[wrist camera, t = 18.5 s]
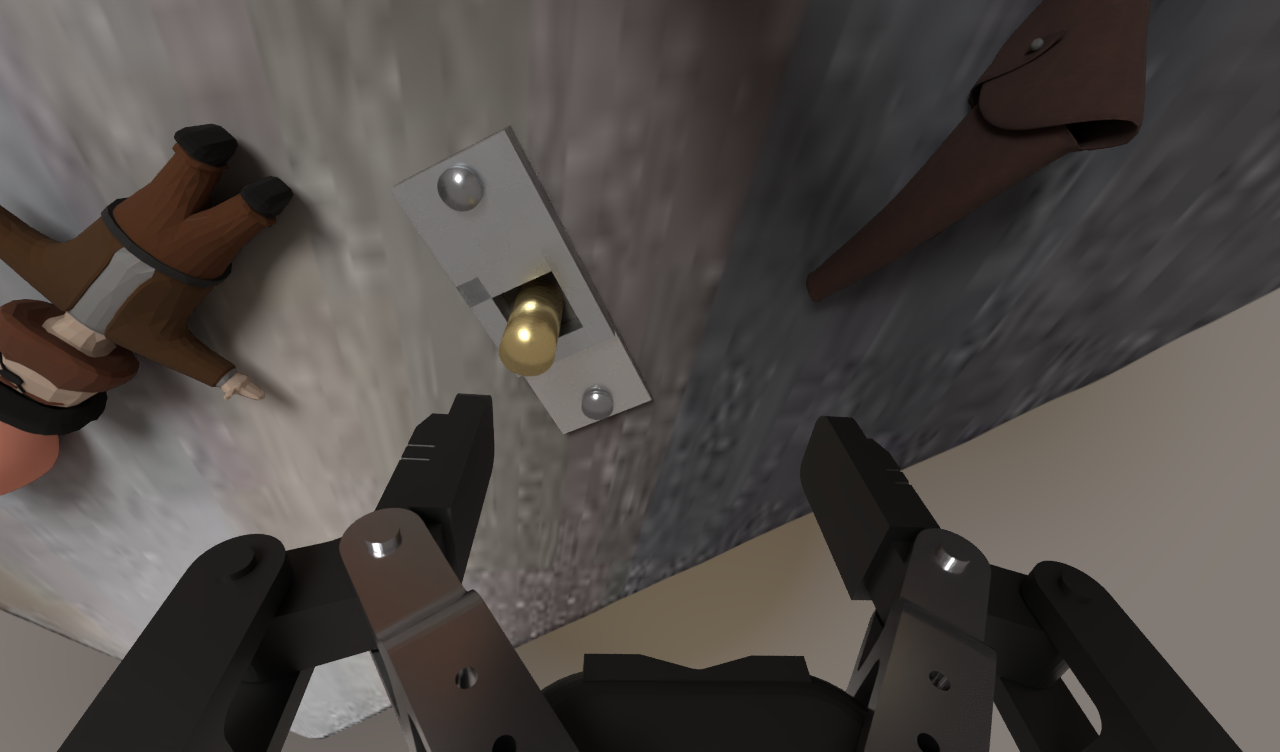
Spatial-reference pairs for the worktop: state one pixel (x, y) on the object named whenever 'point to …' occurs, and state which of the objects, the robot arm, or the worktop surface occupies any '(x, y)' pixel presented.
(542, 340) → the pin
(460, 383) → the worktop surface
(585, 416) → the grey metal plate
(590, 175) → the worktop surface
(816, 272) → the holster
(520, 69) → the worktop surface
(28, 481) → the sugar bowl
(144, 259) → the toy
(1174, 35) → the worktop surface
